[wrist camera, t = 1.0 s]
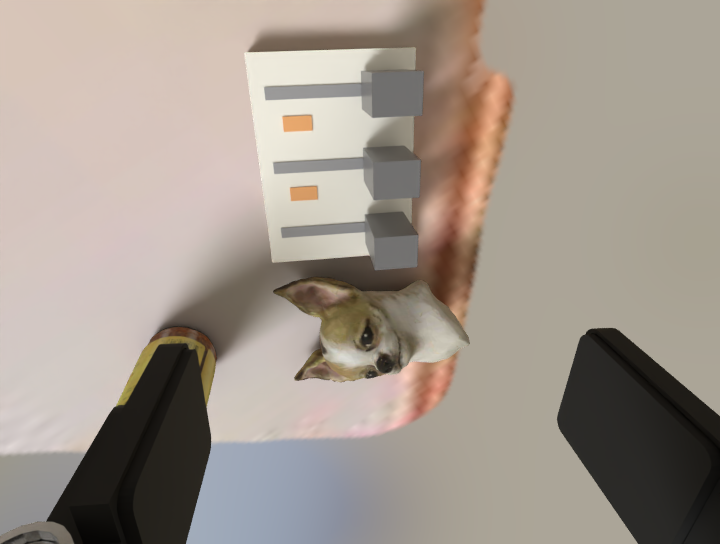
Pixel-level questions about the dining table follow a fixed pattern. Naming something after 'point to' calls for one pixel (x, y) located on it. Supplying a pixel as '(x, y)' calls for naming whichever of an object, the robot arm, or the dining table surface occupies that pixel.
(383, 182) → the slider
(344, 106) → the switch panel
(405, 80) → the slider
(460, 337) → the ceramic sculpture
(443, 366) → the dining table surface
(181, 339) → the sauce bottle
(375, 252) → the slider
